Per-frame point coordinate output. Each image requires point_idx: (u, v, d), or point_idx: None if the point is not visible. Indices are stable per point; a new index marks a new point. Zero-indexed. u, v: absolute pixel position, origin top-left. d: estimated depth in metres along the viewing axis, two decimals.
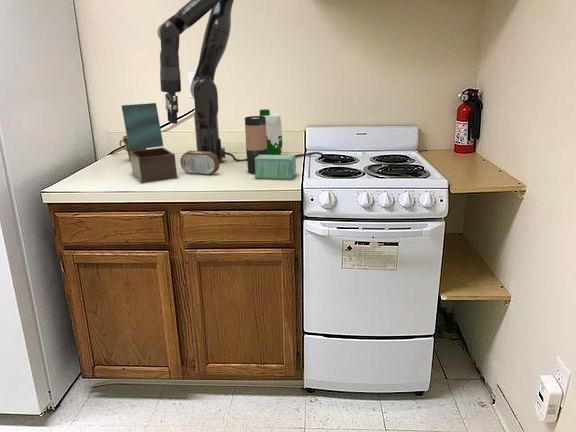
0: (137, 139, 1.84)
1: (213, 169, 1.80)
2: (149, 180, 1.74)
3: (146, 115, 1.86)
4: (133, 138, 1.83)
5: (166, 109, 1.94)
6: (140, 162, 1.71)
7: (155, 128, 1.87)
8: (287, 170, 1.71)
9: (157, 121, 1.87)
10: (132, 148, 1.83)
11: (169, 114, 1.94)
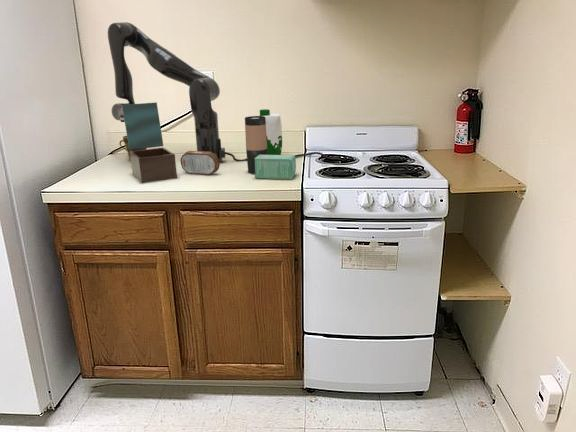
0: (137, 139, 1.84)
1: (213, 169, 1.80)
2: (149, 180, 1.74)
3: (147, 115, 1.85)
4: (133, 138, 1.83)
5: None
6: (140, 162, 1.71)
7: (156, 127, 1.86)
8: (286, 170, 1.71)
9: (157, 121, 1.87)
10: (132, 148, 1.83)
11: None
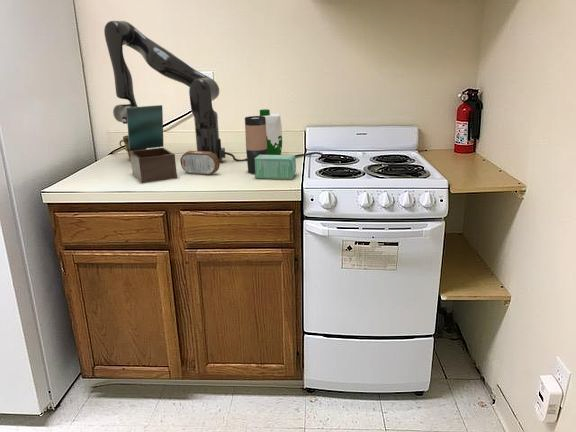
0: (138, 140, 1.82)
1: (213, 169, 1.80)
2: (149, 180, 1.74)
3: (150, 118, 1.80)
4: (134, 140, 1.82)
5: None
6: (140, 162, 1.71)
7: (158, 130, 1.84)
8: (286, 170, 1.71)
9: (161, 123, 1.83)
10: (132, 149, 1.83)
11: None
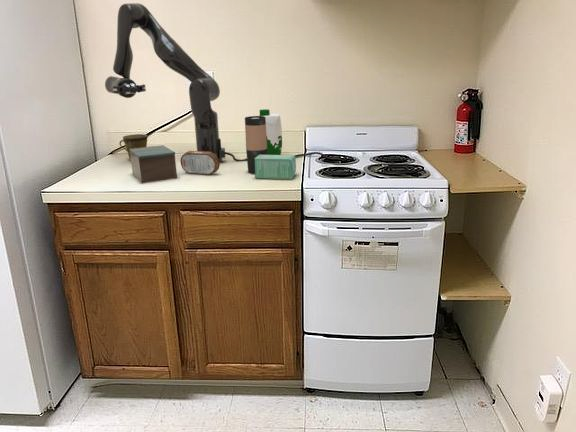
0: None
1: (213, 169, 1.80)
2: (149, 180, 1.74)
3: None
4: None
5: None
6: (140, 162, 1.71)
7: None
8: (286, 170, 1.71)
9: None
10: None
11: None
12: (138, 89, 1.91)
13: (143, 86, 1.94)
